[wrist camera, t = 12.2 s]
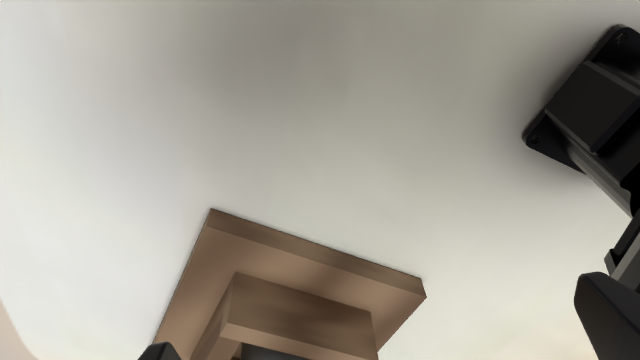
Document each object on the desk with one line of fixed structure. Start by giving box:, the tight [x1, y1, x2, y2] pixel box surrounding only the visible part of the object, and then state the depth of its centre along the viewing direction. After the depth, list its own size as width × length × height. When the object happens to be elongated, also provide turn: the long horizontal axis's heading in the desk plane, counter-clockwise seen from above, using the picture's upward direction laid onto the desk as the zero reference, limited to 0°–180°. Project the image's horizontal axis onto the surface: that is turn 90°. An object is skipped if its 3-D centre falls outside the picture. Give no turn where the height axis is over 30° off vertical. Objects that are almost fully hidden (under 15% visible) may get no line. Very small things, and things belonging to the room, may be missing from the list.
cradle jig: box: [152, 209, 427, 360], centre depth 27 cm, size 14×14×5 cm
